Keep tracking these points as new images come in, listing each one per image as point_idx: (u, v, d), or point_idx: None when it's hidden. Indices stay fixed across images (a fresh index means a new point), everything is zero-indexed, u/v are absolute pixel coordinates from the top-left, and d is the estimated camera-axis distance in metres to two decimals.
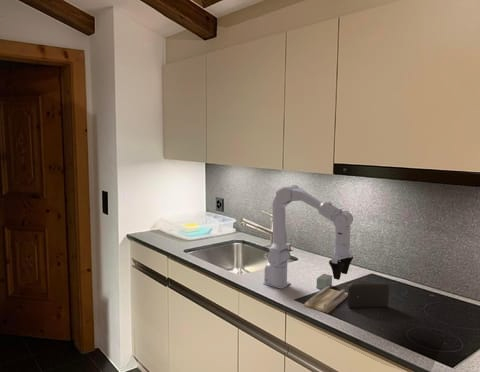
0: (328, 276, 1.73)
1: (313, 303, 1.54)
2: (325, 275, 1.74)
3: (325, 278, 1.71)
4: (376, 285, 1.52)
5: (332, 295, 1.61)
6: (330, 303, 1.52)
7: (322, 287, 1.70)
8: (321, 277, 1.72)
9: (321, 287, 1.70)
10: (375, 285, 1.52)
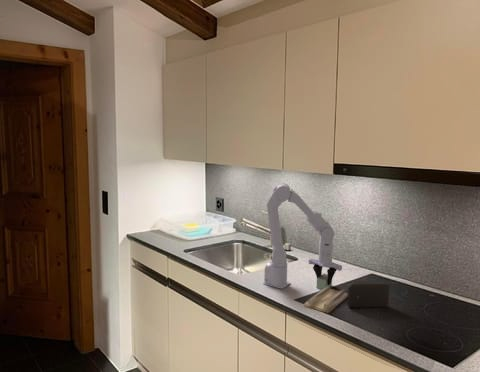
0: None
1: (313, 303, 1.54)
2: (325, 275, 1.74)
3: (325, 278, 1.71)
4: (376, 285, 1.52)
5: (332, 295, 1.61)
6: (330, 303, 1.52)
7: (322, 287, 1.70)
8: (321, 277, 1.72)
9: (321, 287, 1.70)
10: (375, 285, 1.52)
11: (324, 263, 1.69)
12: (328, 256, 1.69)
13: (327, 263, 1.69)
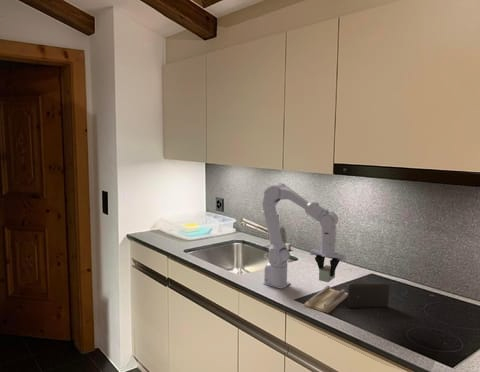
0: None
1: (313, 303, 1.54)
2: (328, 266, 1.65)
3: (328, 269, 1.61)
4: (376, 285, 1.52)
5: (332, 295, 1.61)
6: (330, 303, 1.52)
7: (325, 279, 1.60)
8: (324, 268, 1.62)
9: (324, 279, 1.61)
10: (375, 285, 1.52)
11: (327, 253, 1.59)
12: (331, 246, 1.59)
13: (330, 253, 1.59)
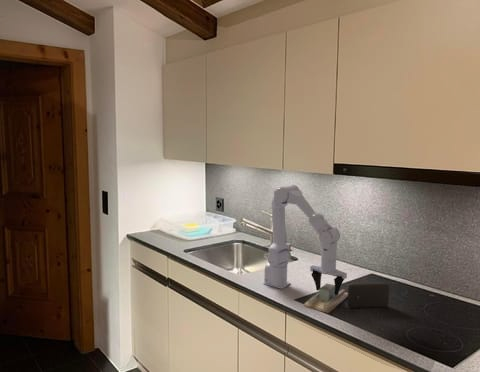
0: (332, 286, 1.59)
1: (313, 303, 1.54)
2: (328, 285, 1.60)
3: (328, 288, 1.56)
4: (376, 285, 1.52)
5: None
6: (330, 303, 1.52)
7: (325, 298, 1.55)
8: (324, 287, 1.57)
9: (324, 298, 1.56)
10: (375, 285, 1.52)
11: (327, 270, 1.54)
12: (331, 263, 1.54)
13: (330, 270, 1.54)
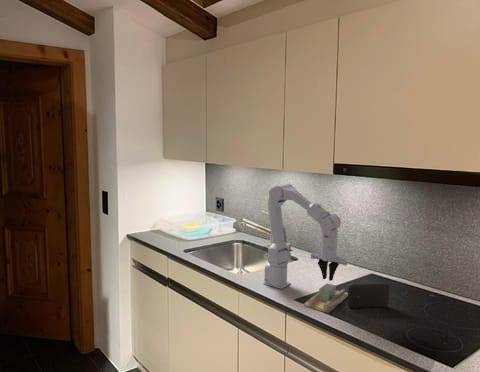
0: (332, 286, 1.59)
1: (313, 303, 1.54)
2: (328, 285, 1.60)
3: (328, 288, 1.56)
4: (376, 285, 1.52)
5: None
6: (330, 303, 1.52)
7: (325, 298, 1.55)
8: (324, 287, 1.57)
9: (324, 298, 1.56)
10: (375, 285, 1.52)
11: (328, 257, 1.54)
12: (332, 249, 1.53)
13: (331, 257, 1.53)
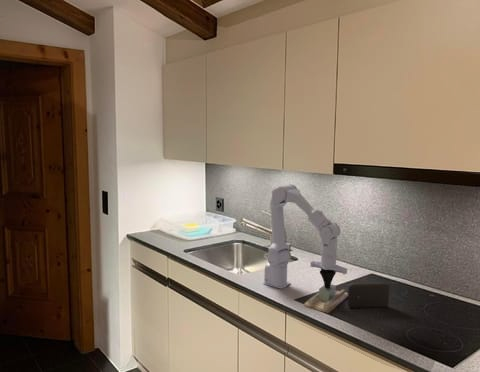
0: (332, 286, 1.59)
1: (313, 303, 1.54)
2: None
3: (328, 288, 1.56)
4: (376, 285, 1.52)
5: None
6: (330, 303, 1.52)
7: (325, 298, 1.55)
8: (324, 287, 1.57)
9: (324, 298, 1.56)
10: (375, 285, 1.52)
11: (327, 266, 1.54)
12: (332, 258, 1.54)
13: (331, 266, 1.54)
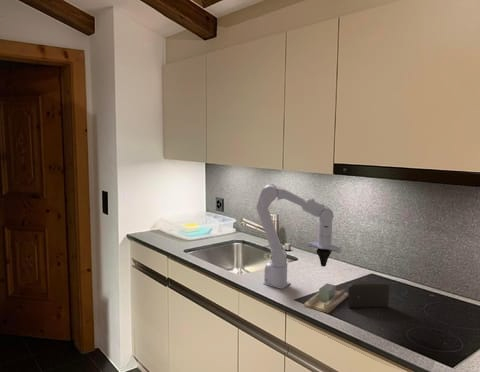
0: (332, 286, 1.59)
1: (313, 303, 1.54)
2: (328, 285, 1.60)
3: (328, 288, 1.56)
4: (376, 285, 1.52)
5: None
6: (330, 303, 1.52)
7: (325, 298, 1.55)
8: (324, 287, 1.57)
9: (324, 298, 1.56)
10: (375, 285, 1.52)
11: (323, 245, 1.68)
12: (327, 238, 1.67)
13: (326, 245, 1.68)
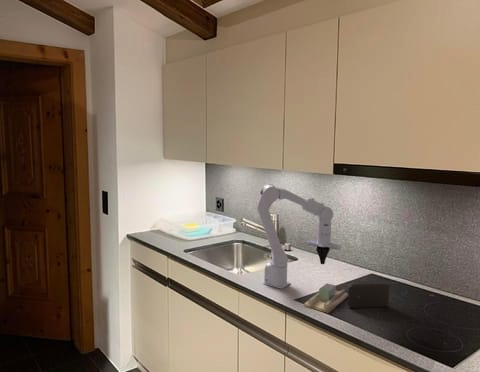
0: (332, 286, 1.59)
1: (313, 303, 1.54)
2: (328, 285, 1.60)
3: (328, 288, 1.56)
4: (376, 285, 1.52)
5: None
6: (330, 303, 1.52)
7: (325, 298, 1.55)
8: (324, 287, 1.57)
9: (324, 298, 1.56)
10: (375, 285, 1.52)
11: (323, 243, 1.71)
12: (327, 236, 1.70)
13: (326, 243, 1.71)
